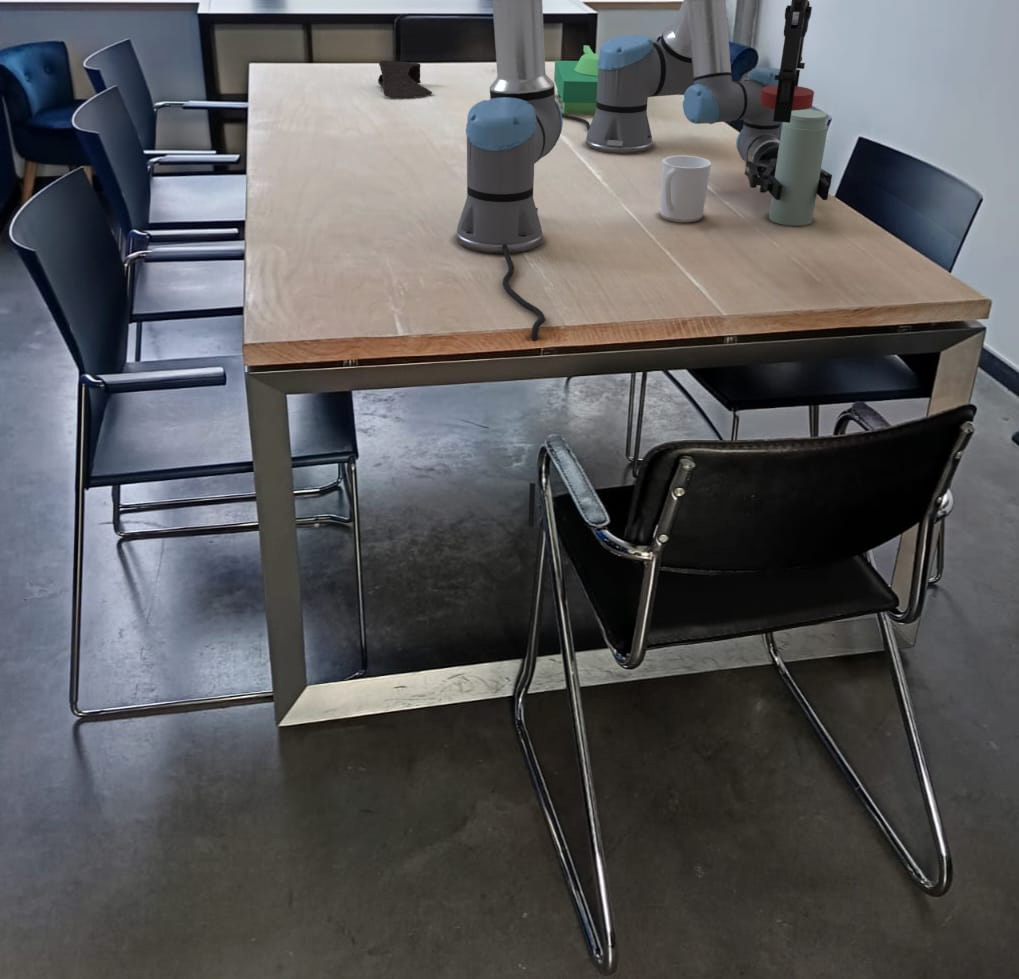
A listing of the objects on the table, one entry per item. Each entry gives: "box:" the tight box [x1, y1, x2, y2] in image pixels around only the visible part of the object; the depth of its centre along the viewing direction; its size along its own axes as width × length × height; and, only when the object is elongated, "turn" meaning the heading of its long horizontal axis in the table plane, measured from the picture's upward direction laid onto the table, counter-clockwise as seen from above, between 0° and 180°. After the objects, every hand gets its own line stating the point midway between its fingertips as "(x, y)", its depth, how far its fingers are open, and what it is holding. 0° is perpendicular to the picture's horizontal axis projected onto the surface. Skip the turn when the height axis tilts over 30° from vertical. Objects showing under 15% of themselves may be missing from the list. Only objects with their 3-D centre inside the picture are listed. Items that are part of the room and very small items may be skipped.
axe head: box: [377, 59, 433, 99], centre depth 299 cm, size 18×8×15 cm
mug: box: [659, 155, 712, 223], centre depth 206 cm, size 11×9×10 cm
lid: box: [760, 85, 815, 110], centre depth 182 cm, size 9×9×2 cm
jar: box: [768, 108, 829, 227], centre depth 205 cm, size 8×8×20 cm
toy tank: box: [553, 44, 600, 115], centre depth 290 cm, size 18×12×35 cm
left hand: (783, 115), depth 183 cm, fingers closed on lid, 9 cm apart
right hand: (802, 192), depth 202 cm, fingers closed on jar, 8 cm apart
